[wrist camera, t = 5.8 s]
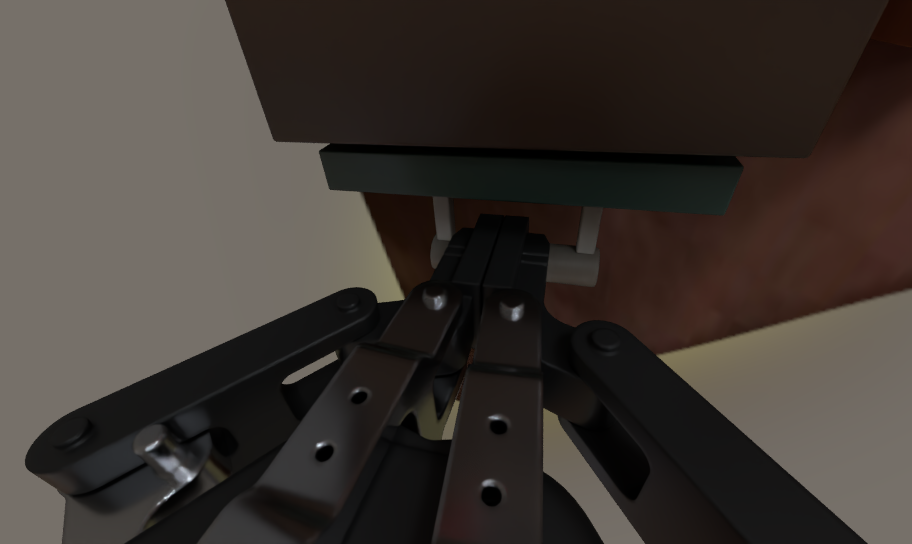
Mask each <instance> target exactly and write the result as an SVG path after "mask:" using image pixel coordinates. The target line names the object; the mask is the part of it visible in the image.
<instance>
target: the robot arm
mask: <svg viewBox="0 0 912 544" xmlns="http://www.w3.org/2000/svg"><path fill="white" fill-rule="evenodd" d="M528 232H529V217H520V216H507V215H506V216H505V217H504V215H493V214H480V216H479V218H478V221H477V223H476V225H475V228H474V229H473V228H462V229H461V230H459V231H458V232H457V233H455V234H454V235H453V236H452V238H451V240H450V242H449V244H448V247H447V248H446V250H445V252H444V255H443V256H442V258H441V260H440V261H439V263H438V265H437V267H436V269H435V271H434V273H433V275H432V277H431V279H430V281H426V282H423V283H421V284H419V285H417V286H416V287H415V288H413V289H412V291H411V292H410V293H409V295H408V296H407V298H406V299H405V300H400V301H392V302H382V303H377V298H376V296H375V294H374V293H373V292H372V291H370V290H368V289H365V288H359V287H355V288H347V289H344V290H341V291H338V292H336V293H334V294H331V295H330V296H327V297H325V298H323V299H321V300H318V301H316V302H314V303H312V304H309V305H307V306H305V307H303V308H300V309H298V310H296V311H294V312H292V313H289V314H287V315H285V316H283V317H280V318H278V319H276V320H274V321H272V322H269V323H267V324H265V325H263V326H261V327H258V328H256V329H254V330H252V331H249V332H248V333H245V334H243V335H241V336H238V337H236V338H234V339H232V340H230V341H227V342H225V343H223V344H221V345H219V346H216V347H214V348H212V349H210V350H207V351H205V352H203V353H201V354H199V355H196V356H194V357H192V358H190V359H187V360H185V361H183V362H181V363H179V364H176V365H174V366H172V367H170V368H167V369H165V370H163V371H161V372H159V373H157V374H154V375H152V376H150V377H147V378H145V379H143V380H141V381H139V382H136V383H134V384H132V385H130V386H128V387H125V388H123V389H121V390H119V391H116V392H114V393H112V394H110V395H108V396H106V397H103V398H101V399H99V400H97V401H94V402H92V403H90V404H88V405H86V406H83V407H81V408H79V409H77V410H75V411H73V412H71V413H69V414H67V415H65V416H63V417H62V418H60V419H59V420H57V421H56V422H54V423H53V424H52V425H51V426H49V427H48V428H47V429H46V430H45V431H44V432H43V433H42V434H41V435H40V436H39V437H38V438H37V439H36V440H35V441H34V443H33V444H32V445H31V447H30V449H29V450H28V452H27V455H26V459H25V465H26V468H27V469H28V470H29V471H30V472H32V473H33V474H35V475H36V476H38V477H40V478H41V479H42V480H44V481H45V482H47V483H49V484H50V485H52V486H53V487H55V488H56V489H57V490H58V492H59V493H60V494H61V495H62V496H63V497H65V500H66V504H65V515H64V527H63V537H62V544H604V543H603V541H602V540H601V538H600V536H599V535H598V533H597V531H596V530H595V528H594V526H593V525H592V523H591V521H590V520H589V518H588V517H587V515H586V513H585V512H584V511H583V509H582V508H581V507H580V506H579V504H578V503H577V501H576V500H575V499H574V498H573V497H572V496H571V495H570V493H569V492H567V490H566V489H565V488H564V487H563V486H562V485H560V484H559V483H558V482H556V480H554V479H553V478H552V477H550V476H549V475H547V474H546V473H544V472H543V408H545V409H547V410H549V411H550V412H552V413H554V414H556V415H558V420H559V422H560V424H561V426H562V428H563V429H564V431H565V432H566V433H567V435H568V436H569V438H570V439H571V440H572V442H573V443H574V445H575V446H576V447H577V449H578V450H579V452H580V453H581V454H582V456H583V457H584V459H585V460H586V461H587V463H588V464H589V466H590V467H591V468H592V470H593V471H594V473H595V474H596V475H597V477H598V478H599V480H600V481H601V482H602V484H603V485H604V487H605V488H606V489H607V491H608V492H609V493H610V495H611V496H612V498H613V499H614V501H615V502H616V503H617V505H618V506H619V507H620V509H621V510H622V512H623V513H624V514H625V516H626V517H627V519H628V520H629V522H630V523H631V524H632V526H633V527H634V529H635V530H636V531H637V533H638V534H639V536H640V537H641V538H642V540H643V541H644V543H645V544H867V543H866V542H865V541H864V540H863V539H862V538H861V537H860V536H859V535H857V534H856V533H855V532H854V531H853V530H852V529H851V528H850V527H848V526H847V525H846V524H845V523H844V522H843V521H842V520H841V519H839V518H838V517H837V516H836V515H835V514H834V513H833V512H832V511H831V510H829V509H828V508H827V507H826V506H825V505H824V504H822V503H821V502H820V501H819V500H818V499H817V498H816V497H815V496H814V495H812V494H811V493H810V492H809V491H808V490H807V489H806V488H805V487H804V486H802V485H801V484H800V483H799V482H798V481H797V480H796V479H794V478H793V477H792V476H791V475H790V474H788V472H787V471H786V470H784V469H783V468H782V467H781V466H780V465H779V464H778V463H776V462H775V461H774V460H773V459H772V458H771V457H770V456H769V455H767V454H766V453H765V452H764V451H763V450H762V449H761V448H760V447H759V446H757V445H756V444H755V443H754V442H753V441H752V440H751V439H749V438H748V437H747V436H746V435H745V434H744V433H743V432H742V431H740V430H739V429H738V428H737V427H736V426H735V425H734V424H733V423H731V422H730V421H729V420H728V419H727V418H726V417H725V416H724V415H723V414H721V413H720V412H719V411H718V410H717V409H716V408H715V407H713V406H712V405H711V404H710V403H709V402H708V401H707V400H706V399H704V398H703V397H702V396H701V395H700V394H699V393H698V392H697V391H696V390H694V389H693V388H692V387H691V386H690V385H689V384H688V383H687V382H685V381H684V380H683V379H682V378H681V377H680V376H679V375H677V374H676V373H675V372H674V371H673V370H672V369H671V368H670V367H669V366H667V365H666V364H665V363H664V362H663V361H662V360H661V359H660V358H658V357H657V356H656V355H655V354H654V353H653V352H652V351H651V350H649V349H648V348H647V347H646V346H645V345H644V344H643V343H642V342H640V341H639V340H638V339H637V338H636V337H635V336H634V335H633V334H631V333H630V332H629V331H628V330H626V329H625V328H623V327H621V326H619V325H617V324H615V323H611V322H607V321H600V320H593V321H587V322H584V323H582V324H580V325H578V326H577V327H576V328H575V327H572V326H569V325H567V324H564V323H562V322H560V321H559V320H557V319H555V318H554V317H553V316H552V315H551V314H550V313H549V312H548V311H547V310H546V308H545V306H544V295H545V287H546V278H547V269H548V260H549V251H550V243H549V241H548V240H547V238H546V236H545V235H544V234H533V233H528ZM471 348H473V349H475V352H474V358H473V362H472V364H469V365H468V367H467V360H468V357H469V354H470V351H471ZM334 351H335V352H336V355H337V357H338V360H336V361H334V362H332V363H330V364H328V365H326V366H325V367H323V368H321V369H319V370H317V371H315V372H314V373H312V374H310V375H308V376H306V377H304V378H302V379H300V380H299V381H297V382H295V383H292V384H282V382H283V381H284V379H285V378H286V377H287V376H289V375H290V374H292V373H294V372H296V371H298V370H300V369H302V368H304V367H305V366H307V365H309V364H311V363H313V362H315V361H317V360H319V359H320V358H323V357H324V356H326V355H328V354H330V353H332V352H334ZM464 377H465V379H464ZM463 379H464V384H463V388H462V393H461V398H460V403H459V409H458V413H457V418H456V423H455V428H454V433H453V438H452V440H442V435H443V431H444V427H445V425H446V422H447V419H448V417H449V415H450V412H451V410H452V407H453V404H454V402H455V399H456V397H457V394H458V392H459V389H460V387H461V384H462V382H463Z"/></svg>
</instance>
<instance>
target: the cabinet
mask: <svg viewBox="0 0 912 544" xmlns="http://www.w3.org/2000/svg"><path fill="white" fill-rule="evenodd" d="M225 1H226V4H227V7H228V10H229V13H230V16H231V19H232V21H233V25H234V27H235V30H236V33H237V36H238V39H239V42H240V45H241V48H242V50H243V53H244V56H245V59H246V62H247V65H248V68H249V70H250V73H251V76H252V79H253V82H254V85H255V88H256V90H257V94H258V96H259V99H260V102H261V105H262V108H263V111H264V114H265V117H266V120H267V122H268V125H269V128H270V131H271V134H272V137H273V139H274V140H275V141H276V142H304V143H305V142H306V143H335V144H367V145H398V146H430V147H462V148H494V149H525V150H557V151H589V152H621V153H652V154H684V155H716V156H748V157H779V158H807V157H809V156H810V155H811V153H812V151H813V149H814V147H815V145H816V143H817V141H818V139H819V137H820V135H821V133H822V131H823V129H824V127H825V125H826V123H827V121H828V119H829V117H830V115H831V114H832V112H833V110H834V108H835V106H836V104H837V102H838V100H839V98H840V96H841V94H842V92H843V90H844V88H845V86H846V84H847V82H848V80H849V78H850V76H851V74H852V72H853V70H854V68H855V66H856V65H857V63H858V61H859V59H860V57H861V55H862V53H863V51H864V49H865V47H866V45H867V43H868V41H869V39H870V37H871V35H872V33H873V31H874V29H875V27H876V25H877V23H878V21H879V19H880V18H881V16H882V14H883V12H884V10H885V8H886V6H887V4H888V2H889V0H225Z"/></svg>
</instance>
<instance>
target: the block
mask: <svg viewBox="0 0 912 544" xmlns="http://www.w3.org/2000/svg"><path fill="white" fill-rule="evenodd" d="M870 39H873V40H877V41H882V42H887V43H891V44H896V45H901V46H905V47H910V48H912V0H889V2H888V4H887V6H886V8H885V10H884V12H883V14H882V16H881V18H880V19H879V21H878V23H877V25H876V27H875V29H874V31H873V33H872V35H871V37H870Z"/></svg>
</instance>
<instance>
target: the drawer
mask: <svg viewBox="0 0 912 544" xmlns="http://www.w3.org/2000/svg"><path fill="white" fill-rule="evenodd" d="M319 154H320V158H321V161H322V165H323V168H324V172H325V175H326V179H327V183H328V186H329V189H330V190H342V191H357V192H372V193H387V194H403V195H418V196H433V204H434V213H435V223H436V232H437V234H436V235H435V237H434V239H433V241H432V245H431V254H430V257H431V264H432V267H433V268H434V269H436V267H437V265H438V263H439V261H440V260H441V258H442V256H443V255H444V252H445V250H446V248H447V247H448V244H449V242H450V240H451V238H452V236H453V235H454V234H455V233H456V230H455V216H454V202H453V198H464V199H479V200H494V201H509V202H525V203H540V204H555V205H570V206H582V210H581V217H580V223H579V229H578V236H577V242H576V246H573V245H562V244H551V243H550V251H549V260H548V269H547V278H546V282H553V283H562V284H571V285H579V286H588V287H594V286H595V285H596V282H597V277H598V271H599V263H600V250H599V248H595V247H596V242H597V237H598V232H599V226H600V221H601V216H602V211H603V208H616V209H631V210H647V211H662V212H677V213H692V214H708V215H724V214H725V212H726V210H727V208H728V205H729V203H730V200H731V198H732V195H733V193H734V191H735V188H736V186H737V183H738V181H739V178H740V176H741V174H742V171H743V169H744V166H743V165H742V164H741V163H740V162H739V160H738V159H737V158H736V157H735V156H716V155H684V154H652V153H621V152H589V151H557V150H525V149H494V148H462V147H430V146H398V145H367V144H335V143H330V144H329V145H327V146H326V147H324V148H323V149H321V150H320V151H319Z"/></svg>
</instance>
